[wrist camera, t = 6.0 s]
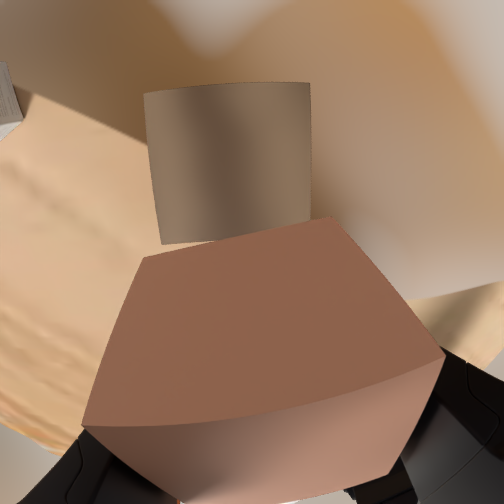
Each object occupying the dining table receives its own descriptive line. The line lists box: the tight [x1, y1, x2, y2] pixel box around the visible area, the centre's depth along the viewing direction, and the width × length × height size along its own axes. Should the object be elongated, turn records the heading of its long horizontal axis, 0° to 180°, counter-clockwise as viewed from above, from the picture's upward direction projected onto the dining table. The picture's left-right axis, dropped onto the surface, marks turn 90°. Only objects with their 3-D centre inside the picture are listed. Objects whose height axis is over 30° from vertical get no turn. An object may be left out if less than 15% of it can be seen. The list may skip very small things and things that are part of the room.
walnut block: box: [144, 82, 311, 245], centre depth 16 cm, size 8×8×5 cm
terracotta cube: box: [81, 216, 446, 504], centre depth 6 cm, size 5×5×5 cm
